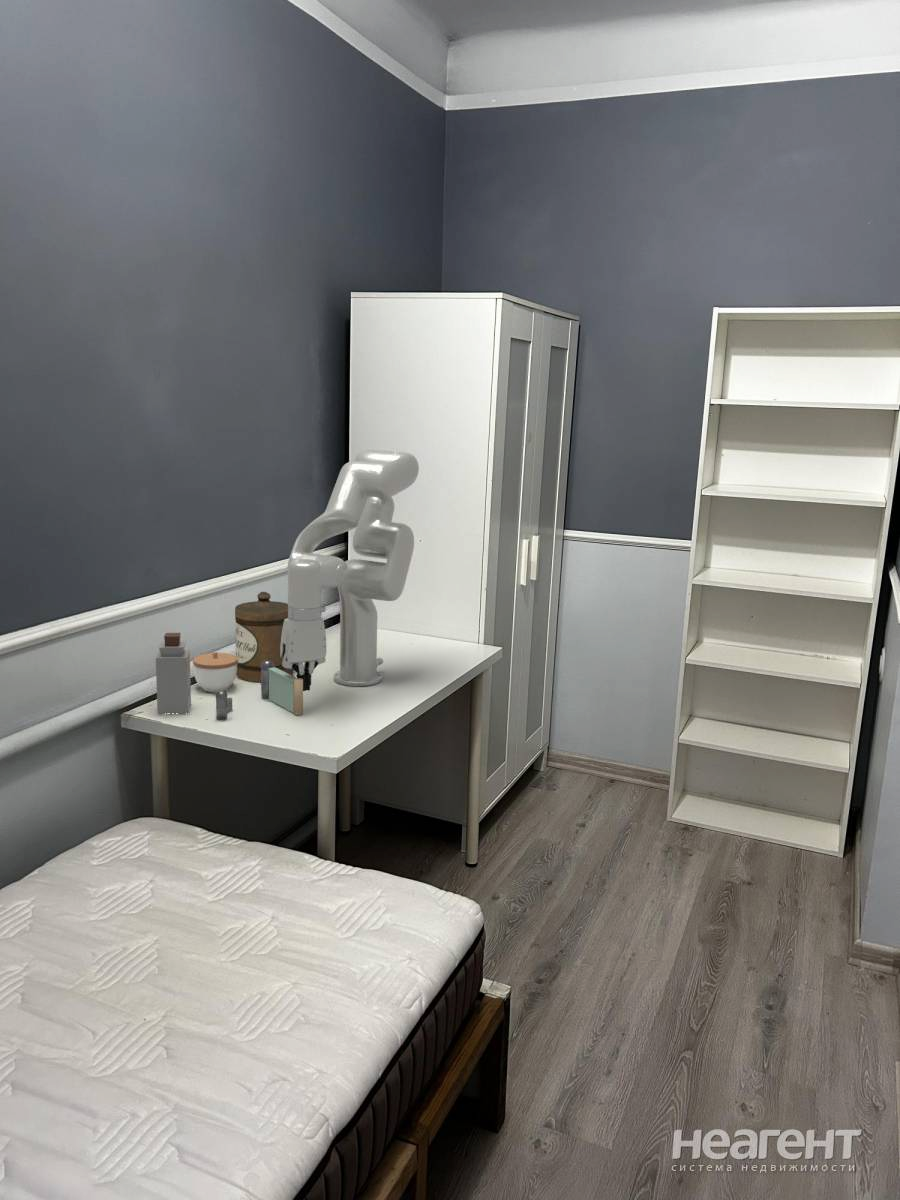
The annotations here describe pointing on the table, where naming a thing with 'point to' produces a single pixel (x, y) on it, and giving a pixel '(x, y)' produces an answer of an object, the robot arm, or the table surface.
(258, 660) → the wooden container
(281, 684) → the gate
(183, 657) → the perfume bottle
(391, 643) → the table surface
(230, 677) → the lidded jar
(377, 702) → the table surface
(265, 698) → the hinge post
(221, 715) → the post
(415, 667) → the table surface
